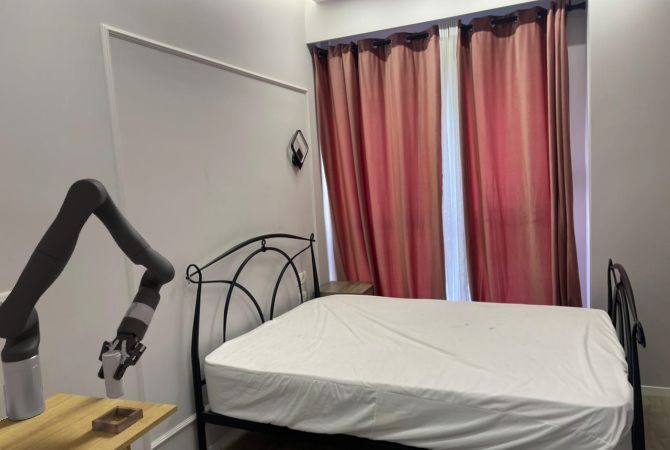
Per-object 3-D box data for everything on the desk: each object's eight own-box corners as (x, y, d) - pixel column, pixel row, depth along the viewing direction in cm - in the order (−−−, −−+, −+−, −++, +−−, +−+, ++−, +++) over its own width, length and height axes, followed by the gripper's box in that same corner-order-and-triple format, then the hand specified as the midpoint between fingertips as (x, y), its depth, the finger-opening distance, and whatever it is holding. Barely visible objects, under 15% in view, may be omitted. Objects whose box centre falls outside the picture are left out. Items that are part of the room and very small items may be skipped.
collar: (92, 430, 125) (91, 420, 125) (118, 414, 134) (117, 405, 133) (119, 433, 122) (118, 424, 122) (143, 417, 130) (142, 408, 130)
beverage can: (118, 399, 125) (113, 356, 124) (102, 399, 126) (97, 356, 125) (129, 391, 129) (124, 349, 128) (114, 391, 130) (109, 349, 129)
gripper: (108, 315, 135) (78, 371, 125) (148, 316, 130) (120, 375, 120) (124, 327, 140) (97, 382, 130) (163, 328, 136) (137, 386, 125)
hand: (108, 378), depth 125 cm, fingers closed on beverage can, 4 cm apart
